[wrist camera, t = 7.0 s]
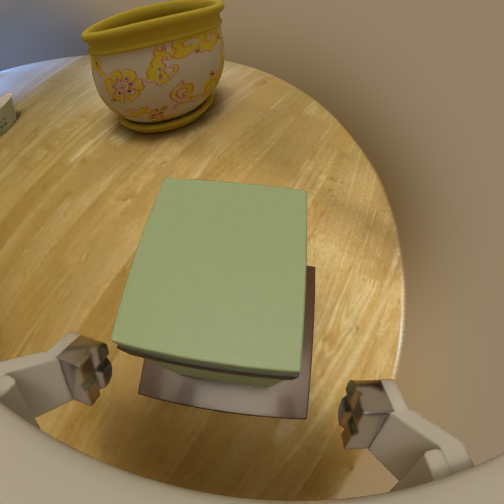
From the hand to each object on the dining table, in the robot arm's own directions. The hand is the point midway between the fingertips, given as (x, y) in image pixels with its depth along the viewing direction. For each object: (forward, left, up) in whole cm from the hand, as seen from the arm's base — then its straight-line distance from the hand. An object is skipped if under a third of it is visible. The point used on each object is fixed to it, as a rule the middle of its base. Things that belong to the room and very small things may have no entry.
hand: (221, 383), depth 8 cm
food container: (+71, +18, -12) cm, 75 cm away
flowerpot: (+35, -13, -12) cm, 40 cm away
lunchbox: (+3, -2, -9) cm, 10 cm away
